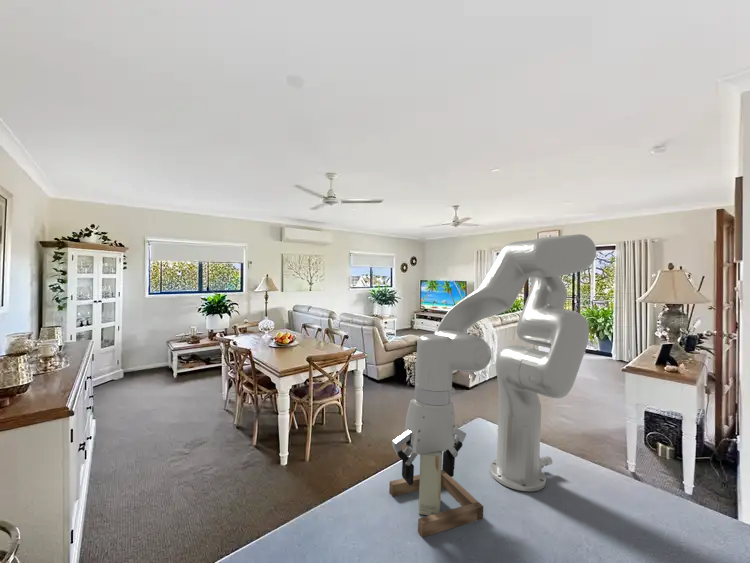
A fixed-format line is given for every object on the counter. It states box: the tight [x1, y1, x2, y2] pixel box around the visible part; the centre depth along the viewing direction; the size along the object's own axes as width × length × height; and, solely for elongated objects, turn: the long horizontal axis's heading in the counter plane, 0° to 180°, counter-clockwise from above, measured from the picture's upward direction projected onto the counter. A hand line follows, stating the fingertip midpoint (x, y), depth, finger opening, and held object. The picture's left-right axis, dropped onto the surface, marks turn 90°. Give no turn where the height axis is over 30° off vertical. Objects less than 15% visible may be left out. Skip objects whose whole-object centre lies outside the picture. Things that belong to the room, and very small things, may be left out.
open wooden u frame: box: [388, 469, 484, 538], centre depth 72 cm, size 14×14×2 cm
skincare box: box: [418, 451, 443, 516], centre depth 72 cm, size 6×4×12 cm
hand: (428, 477), depth 71 cm, fingers open, 9 cm apart
